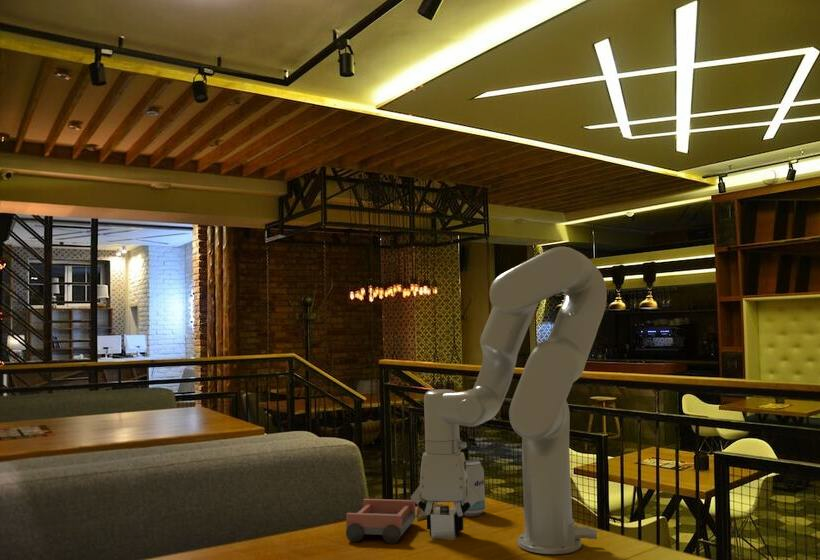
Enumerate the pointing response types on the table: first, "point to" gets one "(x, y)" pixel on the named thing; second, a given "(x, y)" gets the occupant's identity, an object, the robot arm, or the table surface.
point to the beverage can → (475, 487)
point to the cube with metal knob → (443, 523)
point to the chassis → (381, 519)
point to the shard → (422, 514)
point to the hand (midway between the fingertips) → (445, 532)
